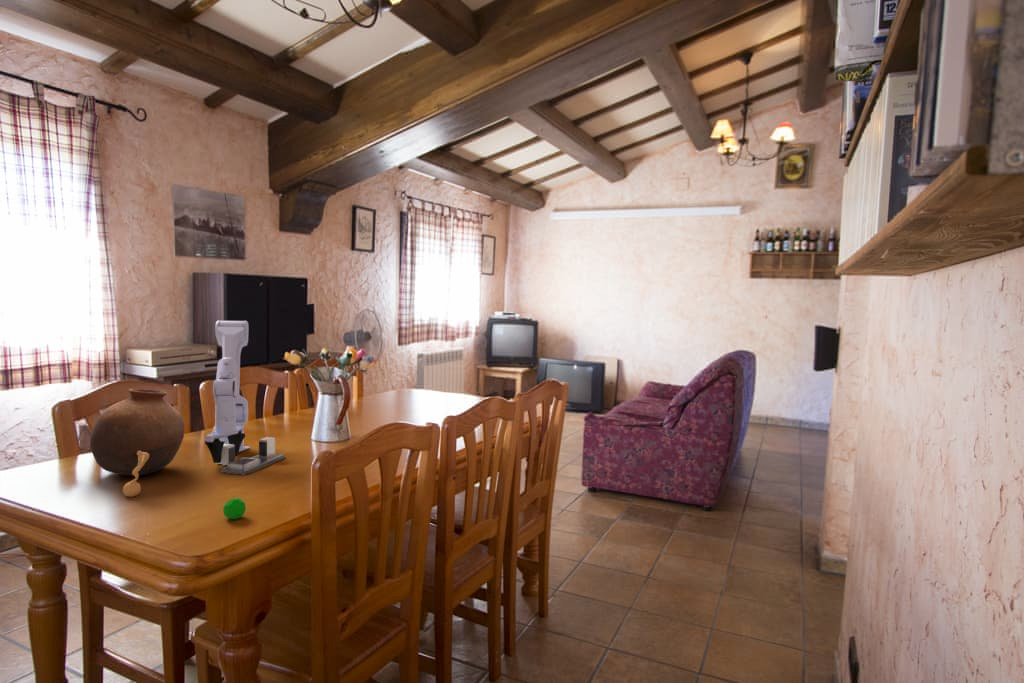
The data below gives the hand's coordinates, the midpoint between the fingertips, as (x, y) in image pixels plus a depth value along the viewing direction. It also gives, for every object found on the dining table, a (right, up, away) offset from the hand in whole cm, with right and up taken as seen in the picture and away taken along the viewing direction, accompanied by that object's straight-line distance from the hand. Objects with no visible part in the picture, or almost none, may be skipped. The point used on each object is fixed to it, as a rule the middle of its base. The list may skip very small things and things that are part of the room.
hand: (225, 459), depth 188 cm
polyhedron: (+23, -6, -44) cm, 50 cm away
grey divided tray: (+9, -2, 0) cm, 9 cm away
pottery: (-19, -2, -12) cm, 23 cm away
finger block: (0, -1, 0) cm, 2 cm away
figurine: (-9, -4, -31) cm, 32 cm away
